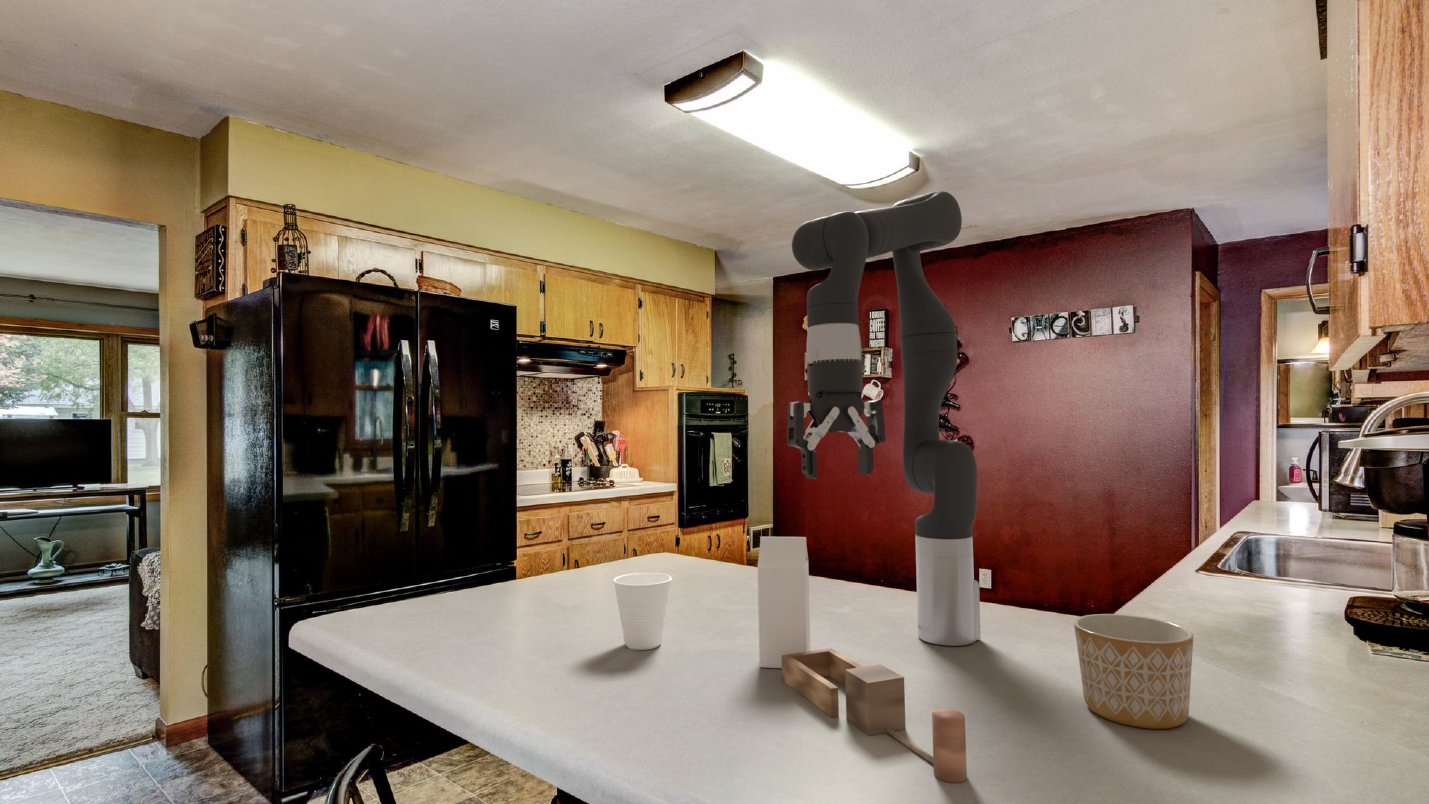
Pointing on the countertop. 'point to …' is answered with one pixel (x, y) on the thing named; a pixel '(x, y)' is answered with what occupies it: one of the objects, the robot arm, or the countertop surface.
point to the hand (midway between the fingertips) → (838, 476)
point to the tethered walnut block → (882, 709)
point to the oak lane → (817, 676)
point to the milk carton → (783, 599)
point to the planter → (1135, 669)
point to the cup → (642, 608)
